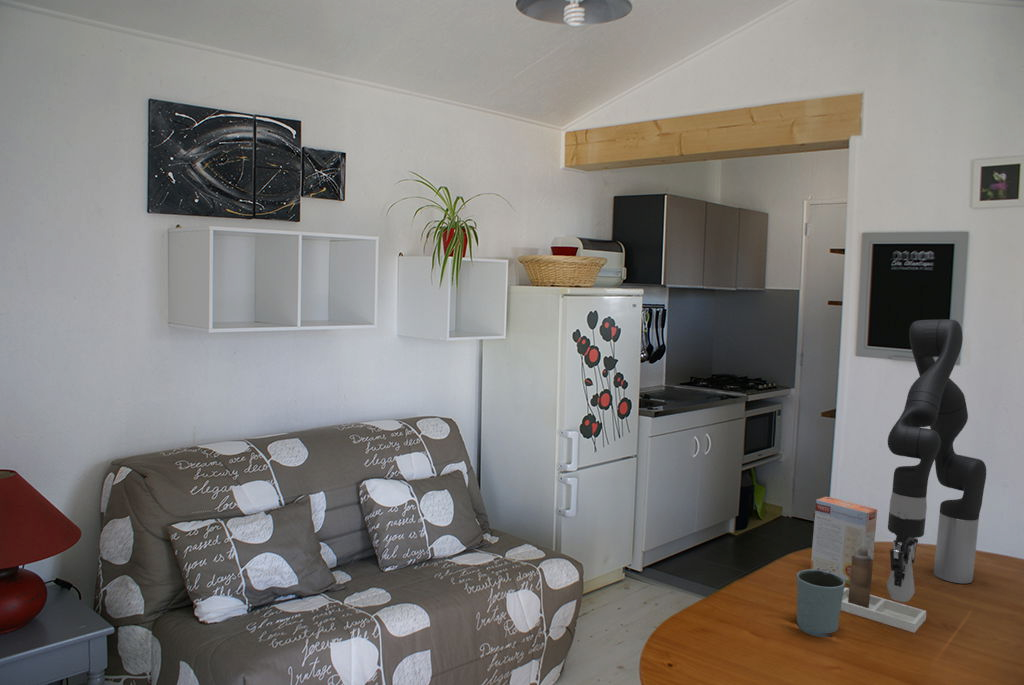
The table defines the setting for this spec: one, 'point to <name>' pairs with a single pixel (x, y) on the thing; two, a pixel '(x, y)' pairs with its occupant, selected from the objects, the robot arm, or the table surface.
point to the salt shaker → (902, 584)
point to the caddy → (886, 612)
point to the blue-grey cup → (819, 601)
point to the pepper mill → (860, 578)
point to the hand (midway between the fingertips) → (900, 585)
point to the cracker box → (841, 535)
